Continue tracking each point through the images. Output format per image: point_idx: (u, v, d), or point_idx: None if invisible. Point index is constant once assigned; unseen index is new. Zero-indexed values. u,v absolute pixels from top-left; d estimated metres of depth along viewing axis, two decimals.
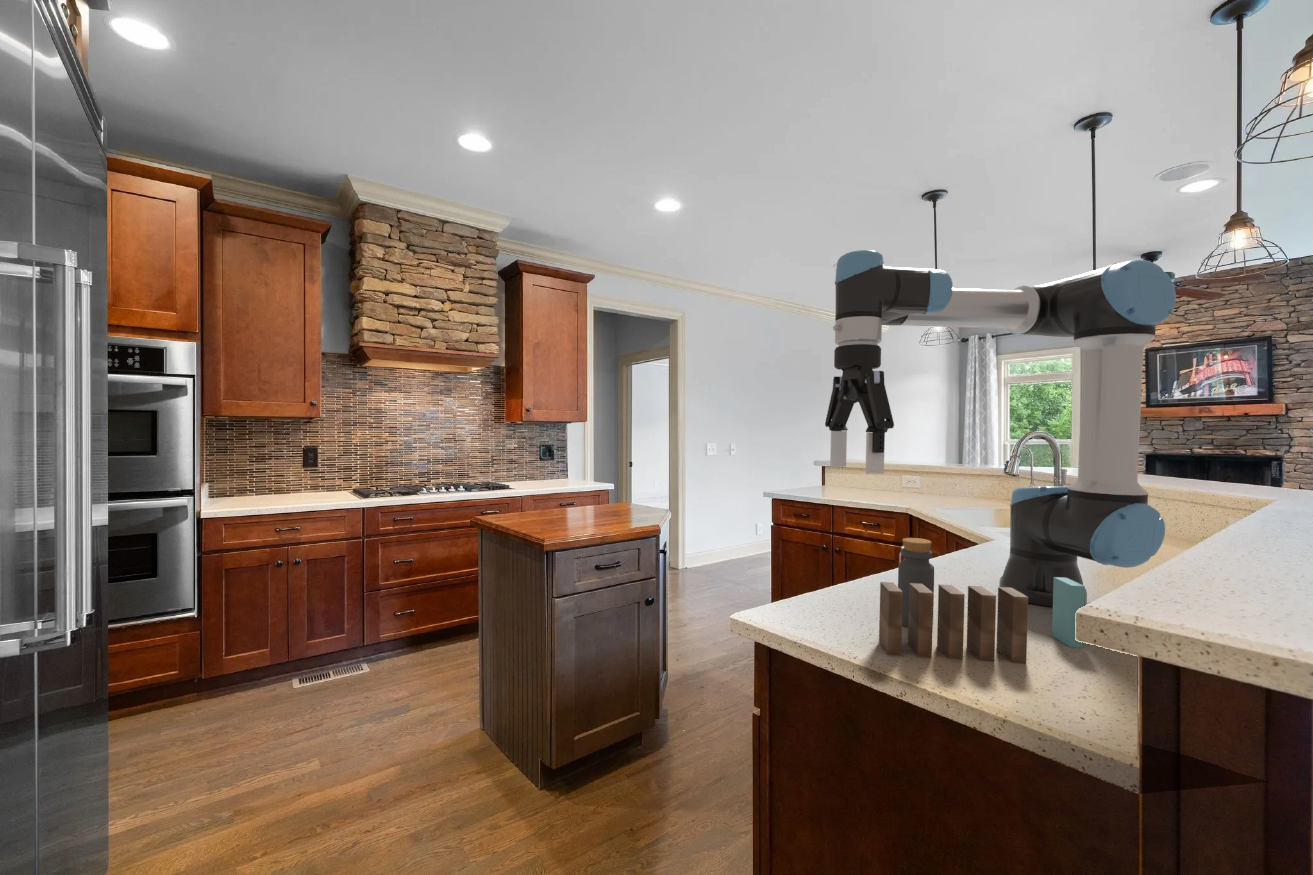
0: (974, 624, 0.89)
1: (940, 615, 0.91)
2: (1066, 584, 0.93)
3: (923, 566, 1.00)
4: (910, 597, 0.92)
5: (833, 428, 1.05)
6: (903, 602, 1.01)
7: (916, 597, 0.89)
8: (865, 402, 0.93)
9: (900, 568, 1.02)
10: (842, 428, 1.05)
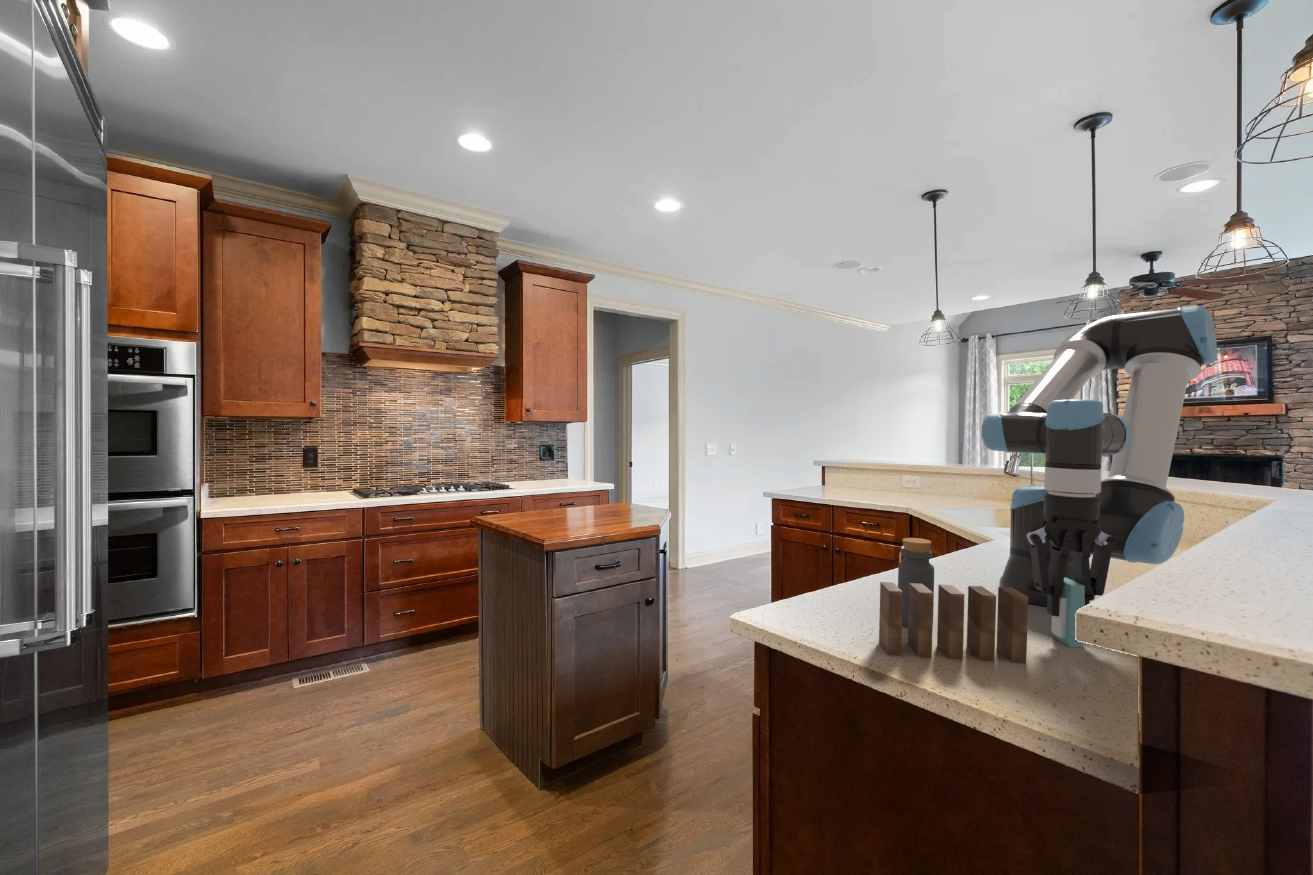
0: (974, 624, 0.89)
1: (940, 615, 0.91)
2: (1066, 584, 0.93)
3: (923, 566, 1.00)
4: (910, 597, 0.92)
5: None
6: (903, 602, 1.01)
7: (916, 597, 0.89)
8: (1050, 560, 0.95)
9: (900, 568, 1.02)
10: None
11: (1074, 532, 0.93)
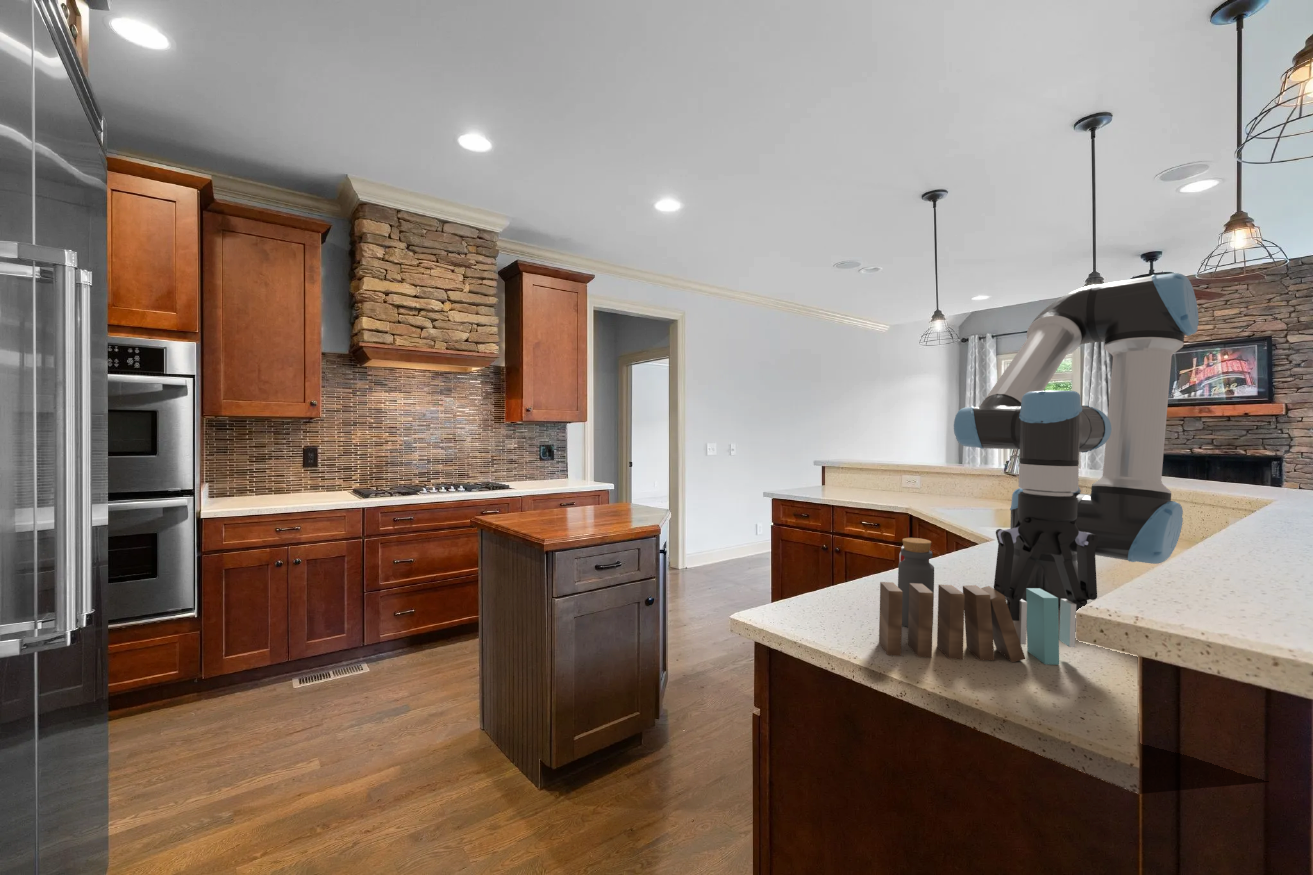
0: (971, 624, 0.89)
1: (940, 615, 0.91)
2: (1038, 596, 0.87)
3: (923, 566, 1.00)
4: (910, 597, 0.92)
5: (1067, 596, 0.88)
6: (903, 602, 1.01)
7: (916, 597, 0.89)
8: (1018, 561, 0.89)
9: (900, 568, 1.02)
10: (1073, 598, 0.86)
11: (1050, 534, 0.86)
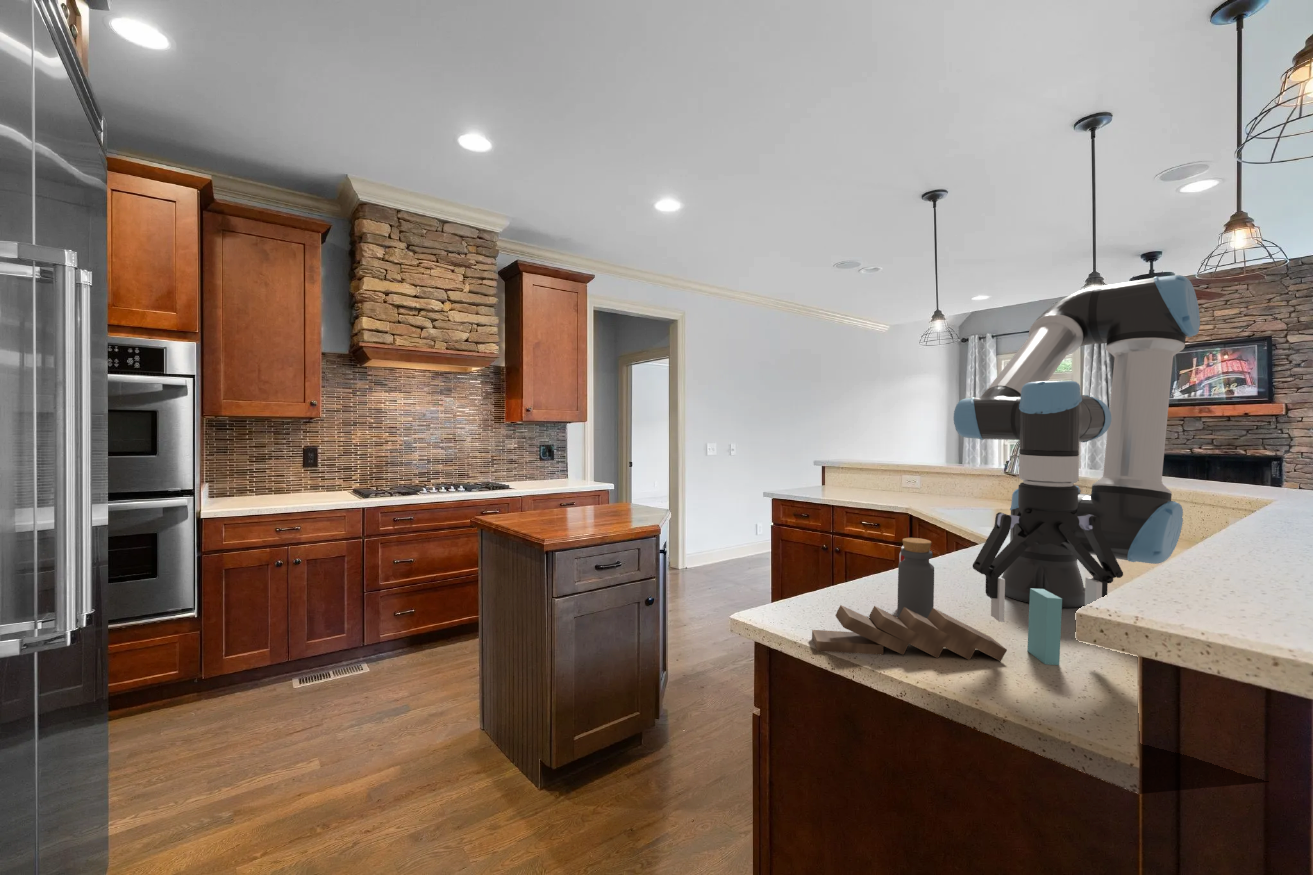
0: None
1: None
2: (1042, 596, 0.87)
3: (923, 566, 1.00)
4: None
5: (1092, 575, 0.88)
6: (903, 602, 1.01)
7: None
8: (1008, 544, 0.89)
9: (900, 568, 1.02)
10: (1099, 578, 0.86)
11: (1050, 524, 0.86)
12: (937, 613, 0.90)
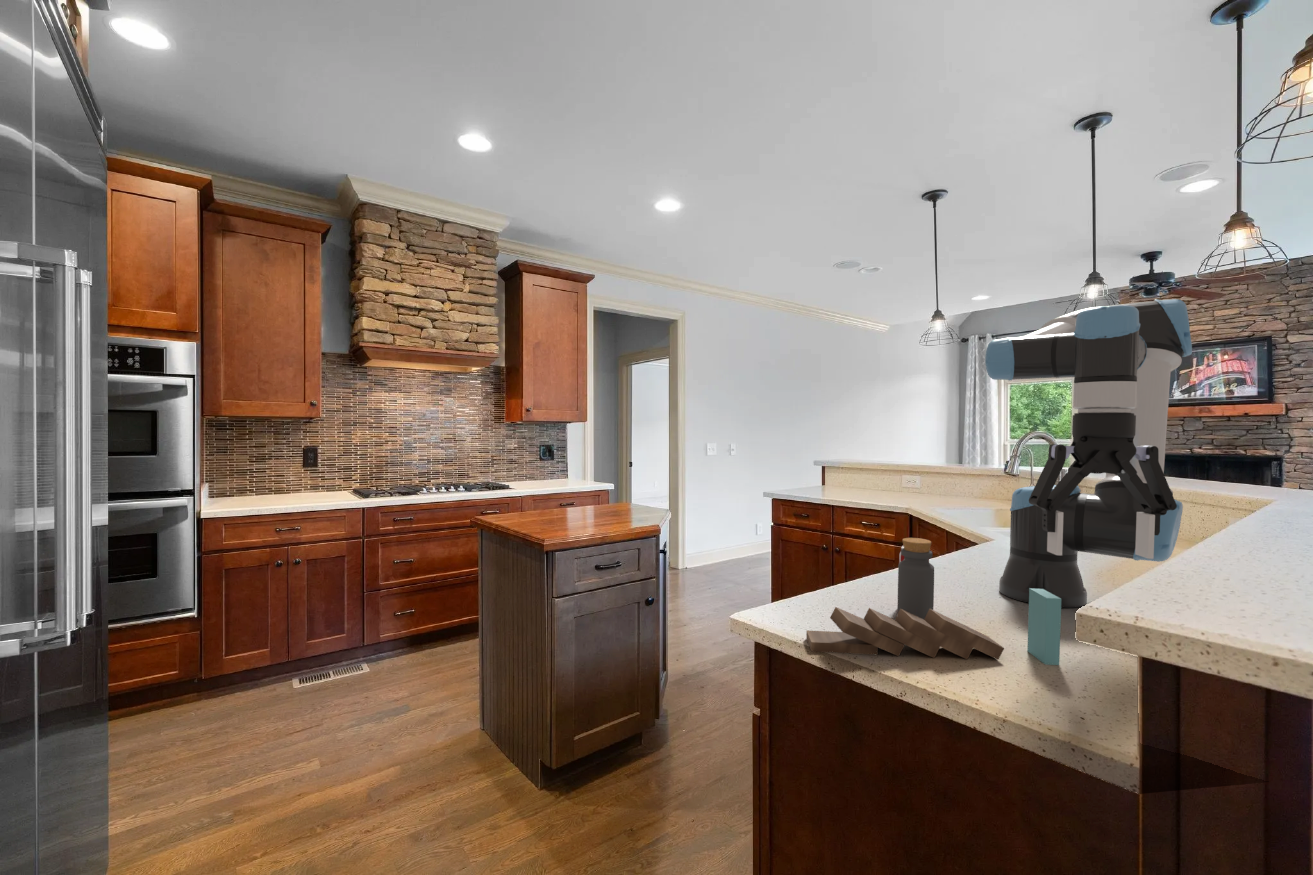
0: None
1: None
2: (1042, 596, 0.87)
3: (923, 566, 1.00)
4: None
5: (1143, 509, 0.86)
6: (903, 602, 1.01)
7: None
8: (1064, 477, 0.88)
9: (900, 568, 1.02)
10: (1152, 510, 0.85)
11: (1107, 452, 0.85)
12: (934, 614, 0.90)
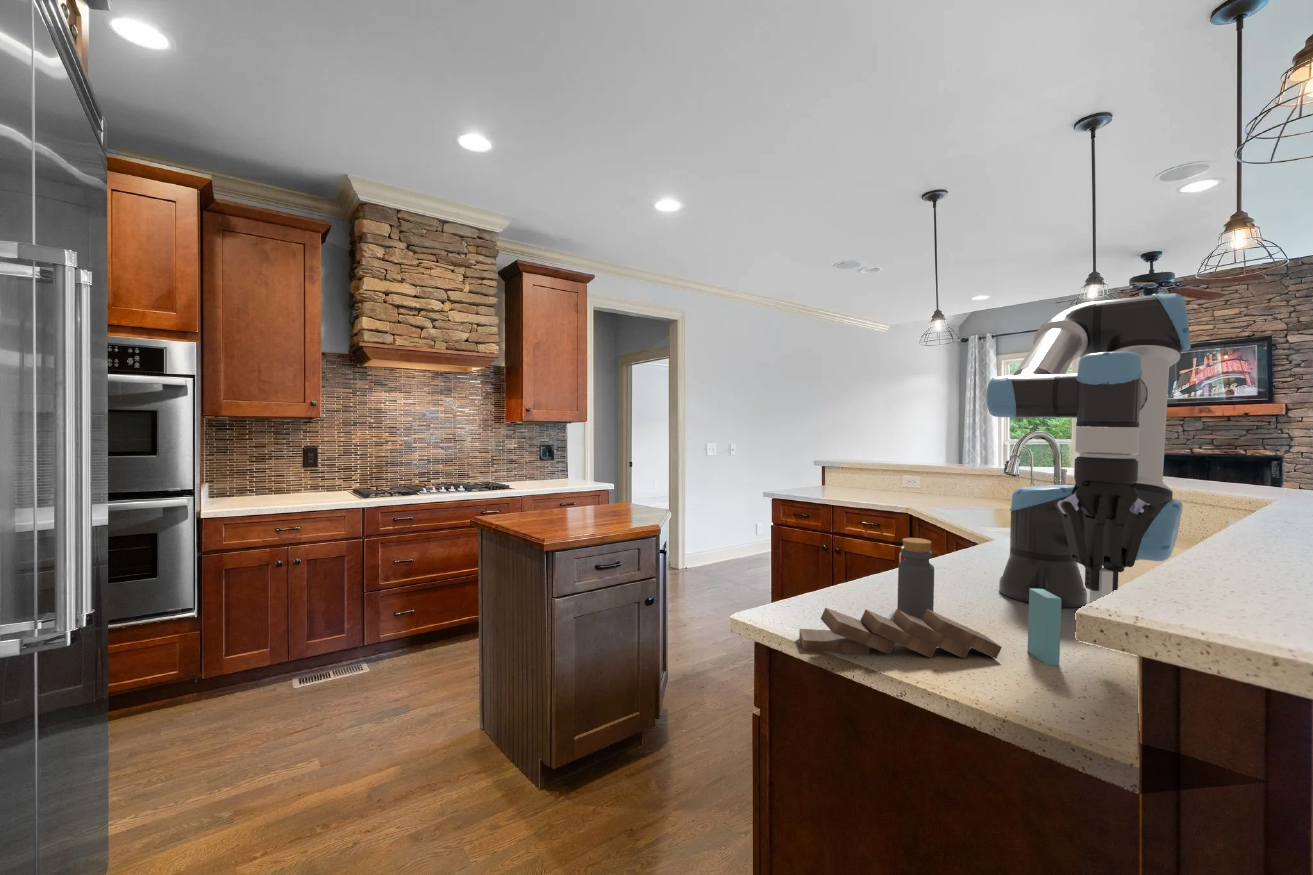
0: None
1: None
2: (1042, 596, 0.87)
3: (923, 566, 1.00)
4: None
5: (1102, 564, 0.87)
6: (903, 602, 1.01)
7: None
8: (1085, 529, 0.87)
9: (900, 568, 1.02)
10: (1110, 564, 0.85)
11: (1109, 497, 0.85)
12: (932, 614, 0.90)
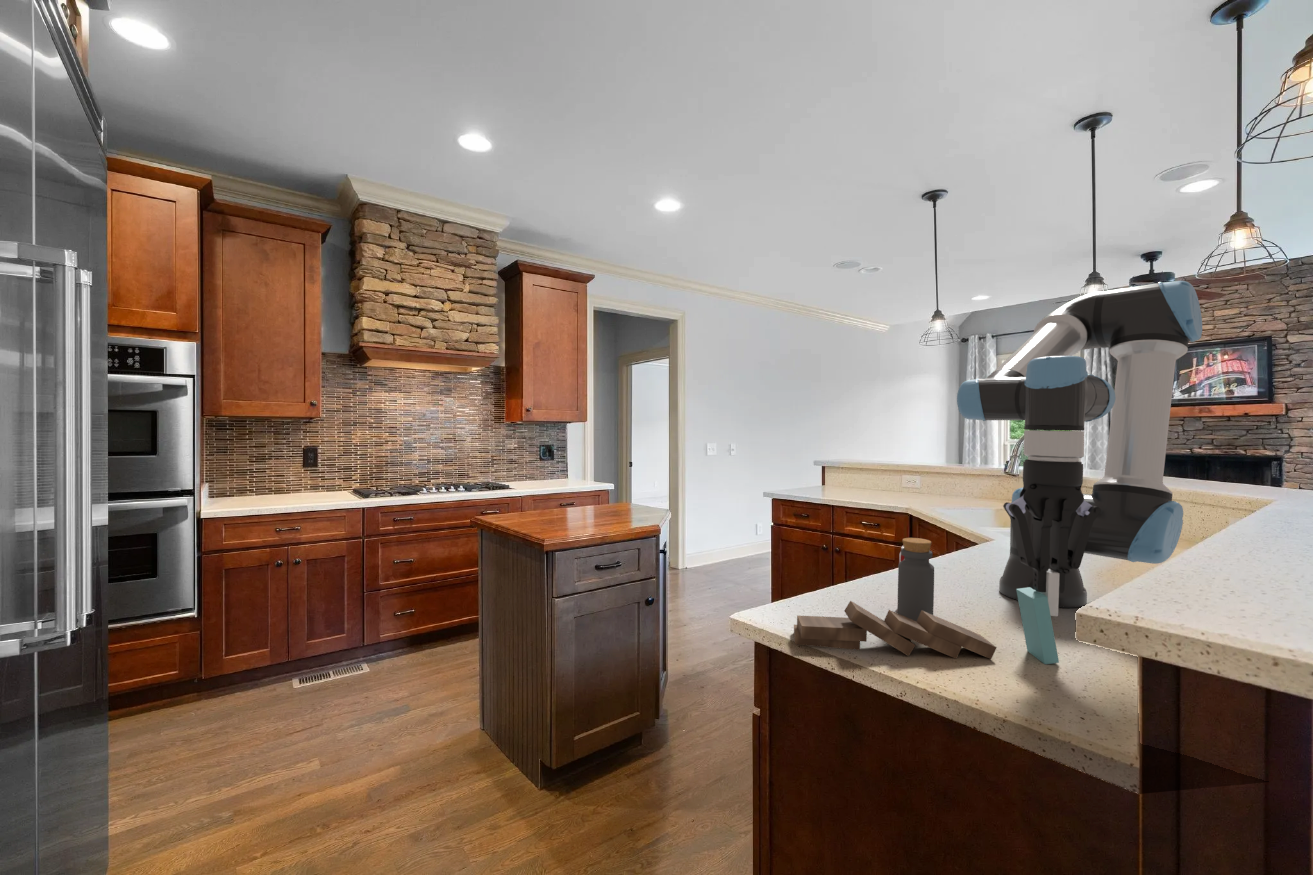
0: None
1: None
2: (1028, 597, 0.87)
3: (923, 566, 1.00)
4: None
5: (1050, 566, 0.88)
6: (903, 602, 1.01)
7: None
8: (1033, 531, 0.88)
9: (900, 568, 1.02)
10: (1057, 566, 0.86)
11: (1055, 500, 0.86)
12: (926, 616, 0.90)
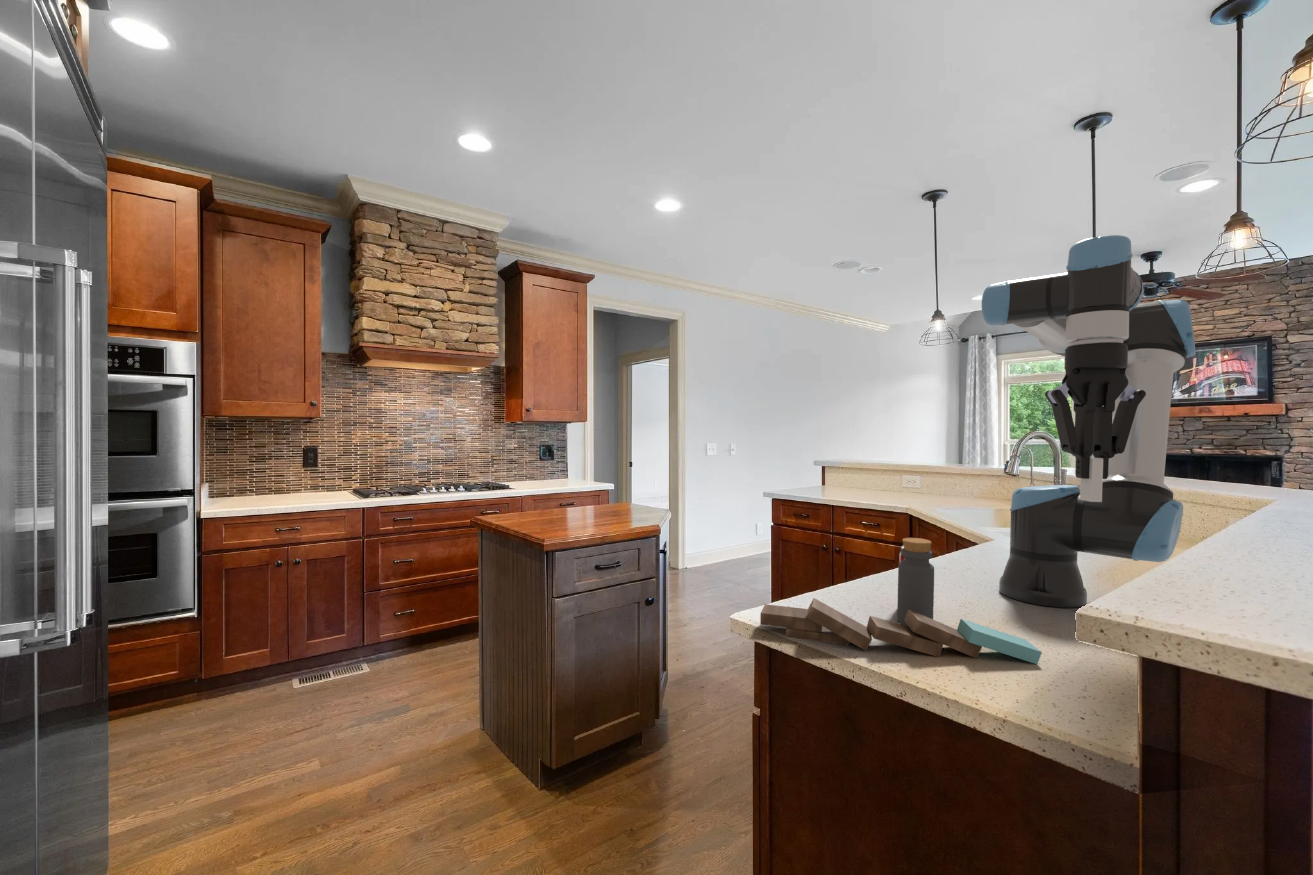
0: None
1: None
2: None
3: (923, 566, 1.00)
4: None
5: (1093, 454, 0.87)
6: (903, 602, 1.01)
7: None
8: (1076, 419, 0.87)
9: (900, 568, 1.02)
10: (1100, 451, 0.85)
11: (1099, 384, 0.85)
12: (912, 615, 0.91)
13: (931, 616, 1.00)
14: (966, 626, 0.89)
